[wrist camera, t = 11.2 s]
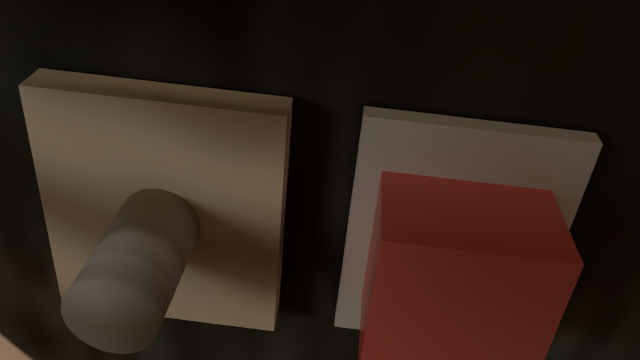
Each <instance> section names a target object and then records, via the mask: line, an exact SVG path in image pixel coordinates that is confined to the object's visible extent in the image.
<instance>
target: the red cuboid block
mask: <svg viewBox="0 0 640 360" xmlns="http://www.w3.org/2000/svg"><path fill="white" fill-rule="evenodd" d="M583 266H584V264H583V261H582V259H581V257H580V254H579V252H578V250H577V248H576V245H575V243H574V241H573V238H572V236H571V234H570V231H569V229H568V227H567V224H566V222H565V220H564V217H563V215H562V213H561V210H560V208H559V206H558V204H557V201H556V199H555V197H554V194H553V192H552V190H543V189H535V188H526V187H517V186H509V185H500V184H492V183H483V182H475V181H466V180H458V179H449V178H440V177H432V176H423V175H415V174H406V173H398V172H389V171H382V172H381V178H380V184H379V191H378V197H377V203H376V209H375V215H374V221H373V227H372V234H371V240H370V246H369V252H368V258H367V264H366V270H365V277H364V283H363V289H362V295H361V318H360V341H359V360H544V359H545V357H546V354H547V352H548V349H549V347H550V345H551V342H552V340H553V337H554V335H555V333H556V330H557V328H558V325H559V323H560V321H561V318H562V316H563V314H564V311H565V309H566V306H567V304H568V302H569V299H570V297H571V294H572V292H573V290H574V287H575V285H576V283H577V280H578V278H579V275H580V273H581V271H582V268H583Z"/></svg>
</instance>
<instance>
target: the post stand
mask: <svg viewBox="0 0 640 360" xmlns="http://www.w3.org/2000/svg"><path fill="white" fill-rule="evenodd" d="M18 86H19V91H20V96H21V101H22V106H23V111H24V116H25V121H26V126H27V131H28V136H29V141H30V146H31V151H32V156H33V161H34V166H35V171H36V176H37V181H38V186H39V191H40V196H41V200H42V205H43V210H44V215H45V220H46V225H47V230H48V235H49V240H50V245H51V250H52V255H53V260H54V265H55V270H56V275H57V280H58V285H59V290H60V295H61V300H62V303H61V314H62V317H63V319H64V322H65V323H66V325H67V327H68V328H69V329H70V330H71V332H72V333H73V334H74V335H76V336H77V337H78V338H79V339H81V340H82V341H83V342H85V343H87V344H89V345H90V346H93V347H95V348H97V349H100V350H103V351H107V352H112V353H120V354H122V353H134V352H138V351H141V350H143V349H145V348H147V347H148V346H150V345H151V344H152V343H153V342H154V340H155V339H156V336H157V334H158V332H159V329H160V327H161V324H162V322H163V320H164V317H167V318H175V319H183V320H191V321H199V322H206V323H214V324H222V325H230V326H238V327H246V328H254V329H261V330H269V331H274V328H275V323H276V318H277V313H278V308H279V298H280V283H281V268H282V254H283V239H284V224H285V209H286V194H287V179H288V164H289V149H290V134H291V119H292V104H293V98H292V97H283V96H275V95H266V94H258V93H249V92H240V91H232V90H223V89H215V88H206V87H197V86H189V85H180V84H172V83H163V82H154V81H146V80H137V79H129V78H120V77H111V76H103V75H94V74H86V73H77V72H68V71H60V70H51V69H43V68H40V69H38V70H37V71H36V72H35V73H33V74H32V75H31V76H29V77H28V78H27V79H26V80H24V81H23V82H22V83H21V84H19V85H18Z"/></svg>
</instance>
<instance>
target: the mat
mask: <svg viewBox="0 0 640 360" xmlns="http://www.w3.org/2000/svg"><path fill="white" fill-rule="evenodd" d="M602 145H603V143H602V142H601V140H600V139H599V137H598V136H597V134H596V133H593V132H584V131H576V130H567V129H558V128H550V127H541V126H533V125H524V124H515V123H507V122H498V121H490V120H481V119H472V118H464V117H455V116H447V115H438V114H429V113H421V112H412V111H404V110H395V109H386V108H378V107H369V106H364V112H363V119H362V126H361V133H360V140H359V148H358V155H357V162H356V169H355V177H354V184H353V191H352V198H351V206H350V213H349V220H348V227H347V234H346V242H345V249H344V256H343V263H342V271H341V278H340V285H339V292H338V300H337V307H336V315H335V326H336V327H344V328H352V329H360V318H361V295H362V289H363V283H364V277H365V270H366V264H367V258H368V252H369V246H370V240H371V234H372V227H373V221H374V215H375V209H376V203H377V197H378V191H379V184H380V178H381V172H382V171H389V172H398V173H406V174H415V175H423V176H432V177H440V178H449V179H458V180H466V181H475V182H483V183H492V184H500V185H509V186H517V187H526V188H535V189H543V190H552V192H553V194H554V197H555V199H556V201H557V204H558V206H559V208H560V210H561V213H562V215H563V217H564V220H565V222H566V224H567V227H568V229H569V230H570V227H571V225H572V222H573V220H574V217H575V215H576V212H577V209H578V207H579V204H580V202H581V199H582V197H583V194H584V191H585V189H586V186H587V184H588V181H589V179H590V176H591V173H592V171H593V168H594V166H595V163H596V161H597V158H598V156H599V153H600V150H601V148H602Z"/></svg>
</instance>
